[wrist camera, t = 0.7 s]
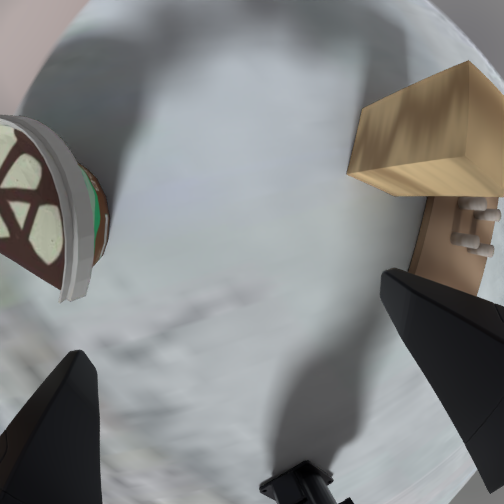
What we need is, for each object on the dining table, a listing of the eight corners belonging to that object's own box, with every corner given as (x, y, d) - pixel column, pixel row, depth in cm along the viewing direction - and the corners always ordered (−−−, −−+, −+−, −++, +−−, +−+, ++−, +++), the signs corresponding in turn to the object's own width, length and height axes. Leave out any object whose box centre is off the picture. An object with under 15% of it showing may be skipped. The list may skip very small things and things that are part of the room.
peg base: (468, 300, 27) (493, 309, 24) (405, 279, 25) (434, 290, 21) (494, 183, 26) (519, 183, 22) (437, 138, 24) (466, 132, 20)
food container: (159, 184, 20) (132, 164, 10) (121, 264, 20) (70, 309, 10) (29, 120, 17) (-46, 81, 7) (-3, 193, 17) (-88, 191, 8)
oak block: (394, 196, 24) (511, 197, 12) (346, 174, 22) (465, 156, 11) (407, 134, 23) (515, 108, 12) (362, 108, 22) (468, 60, 10)
